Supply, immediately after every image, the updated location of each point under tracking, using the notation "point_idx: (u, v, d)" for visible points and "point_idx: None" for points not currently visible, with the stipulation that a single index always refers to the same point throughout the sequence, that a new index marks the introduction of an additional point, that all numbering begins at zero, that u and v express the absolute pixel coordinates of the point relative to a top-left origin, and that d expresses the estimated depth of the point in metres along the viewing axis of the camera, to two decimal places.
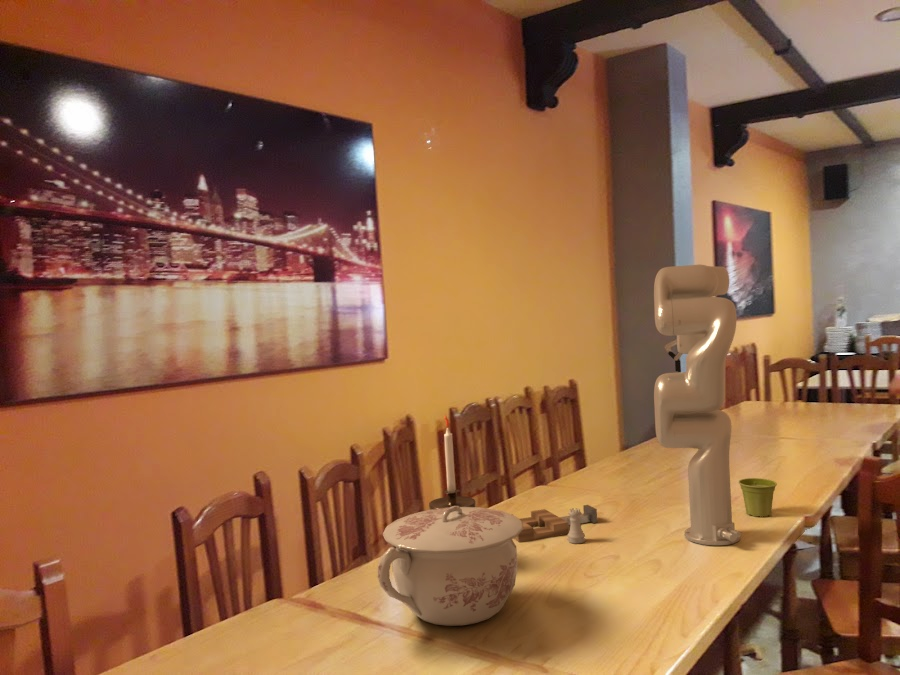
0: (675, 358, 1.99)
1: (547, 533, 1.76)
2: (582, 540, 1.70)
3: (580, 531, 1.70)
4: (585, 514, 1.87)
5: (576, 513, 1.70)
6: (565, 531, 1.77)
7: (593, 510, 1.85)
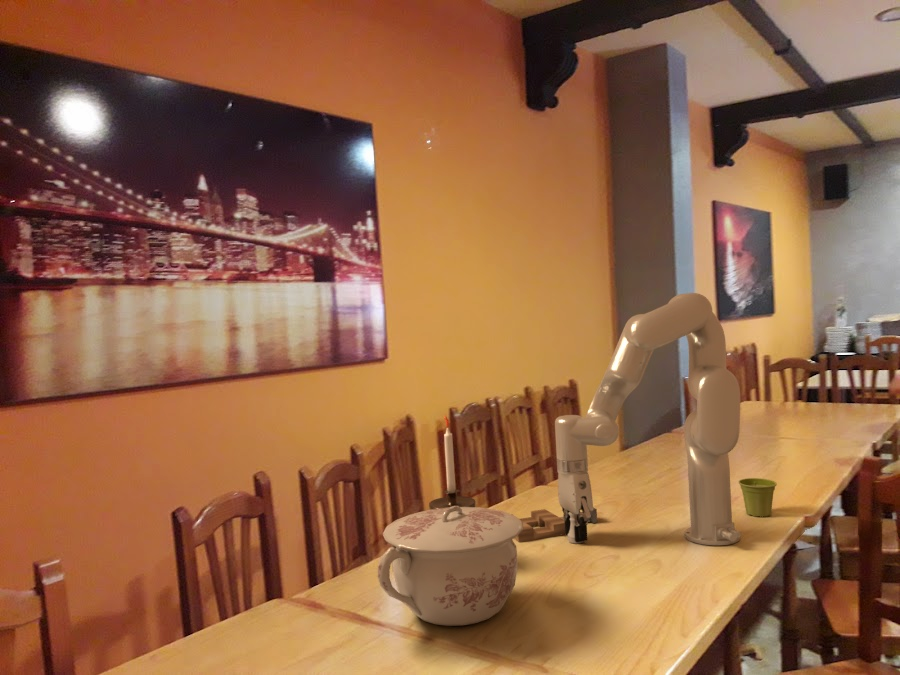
0: None
1: (547, 533, 1.76)
2: None
3: None
4: None
5: None
6: None
7: (593, 510, 1.85)
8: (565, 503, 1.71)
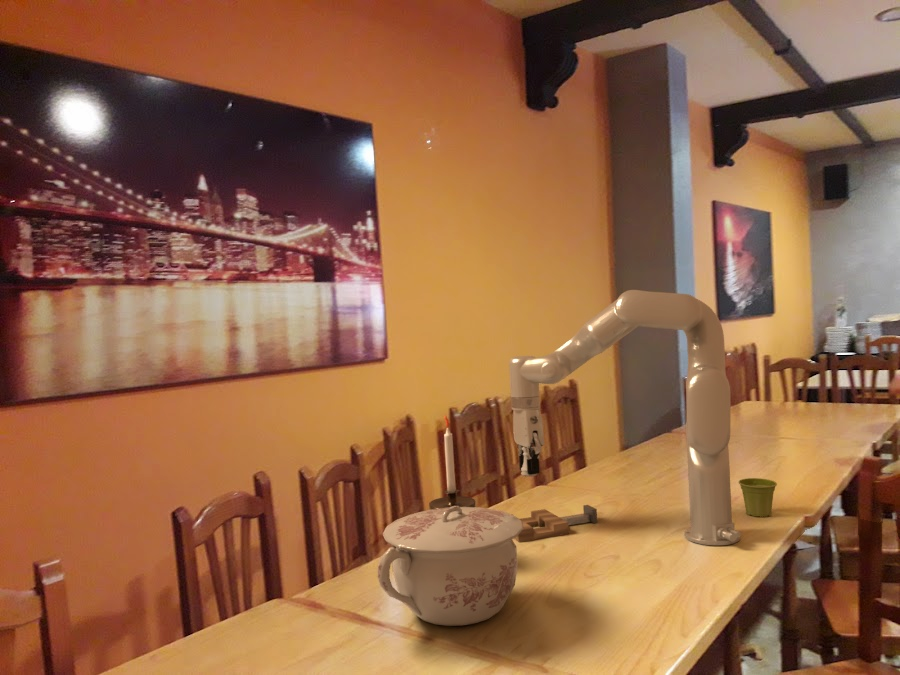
0: None
1: (547, 533, 1.76)
2: None
3: None
4: (585, 514, 1.87)
5: None
6: (565, 531, 1.77)
7: (593, 510, 1.85)
8: (519, 438, 1.81)
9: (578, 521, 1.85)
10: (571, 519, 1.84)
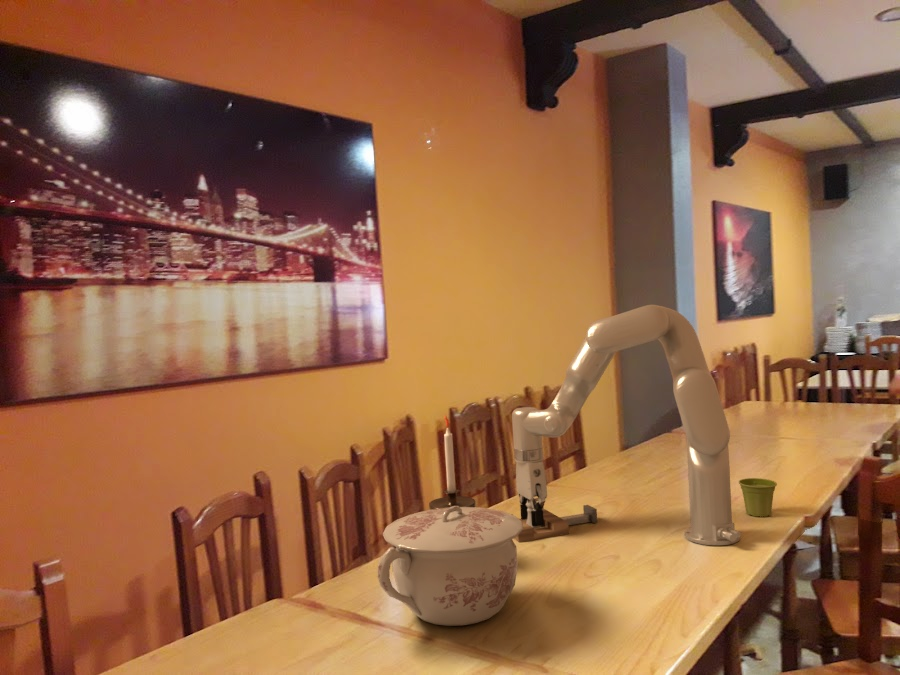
0: None
1: (547, 533, 1.76)
2: None
3: None
4: (585, 514, 1.87)
5: None
6: (565, 531, 1.77)
7: (593, 510, 1.85)
8: (522, 490, 1.82)
9: (578, 521, 1.85)
10: (571, 519, 1.84)
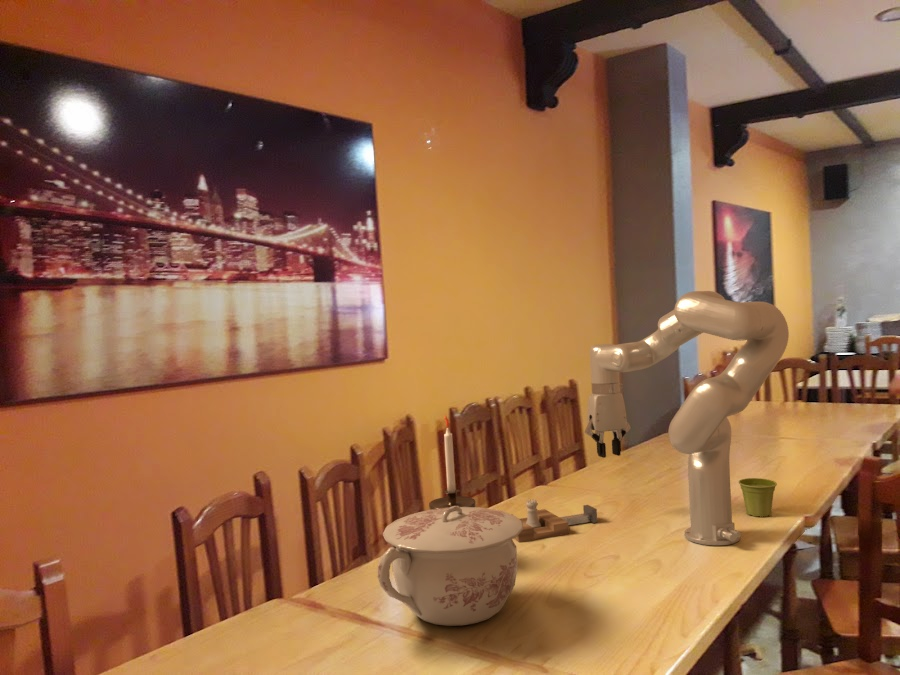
0: None
1: (547, 533, 1.76)
2: None
3: (536, 521, 1.81)
4: (585, 514, 1.87)
5: (532, 504, 1.81)
6: (565, 531, 1.77)
7: (593, 510, 1.85)
8: (610, 424, 1.87)
9: (578, 521, 1.85)
10: (571, 519, 1.84)
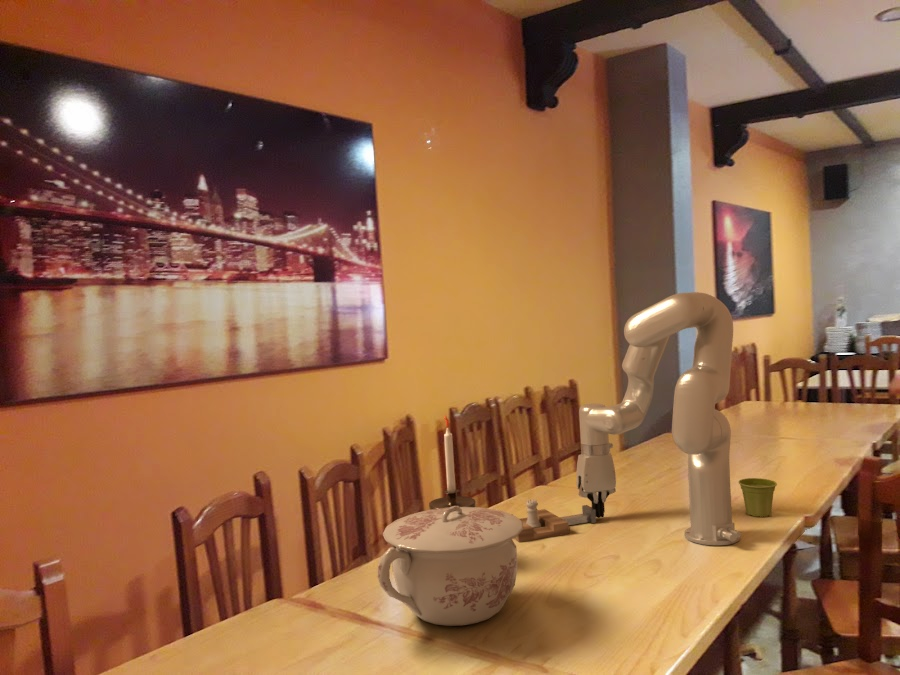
0: None
1: (547, 533, 1.76)
2: None
3: (536, 521, 1.81)
4: (584, 514, 1.87)
5: (533, 504, 1.81)
6: (565, 531, 1.77)
7: (592, 510, 1.85)
8: (599, 485, 1.86)
9: (577, 521, 1.85)
10: (570, 519, 1.84)
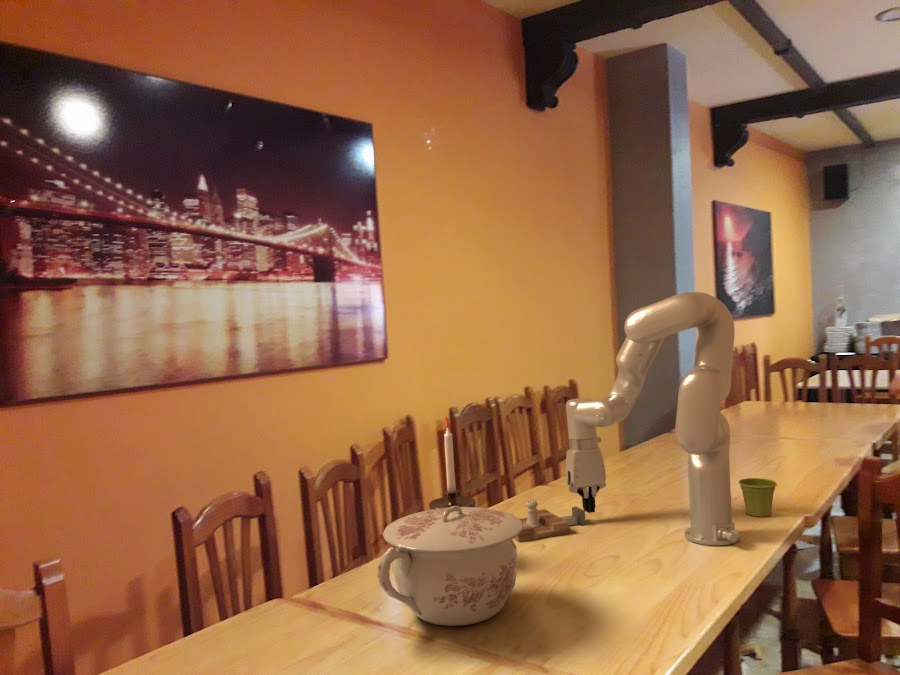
0: None
1: (547, 533, 1.76)
2: None
3: (536, 521, 1.81)
4: (573, 516, 1.86)
5: (532, 504, 1.81)
6: (565, 531, 1.77)
7: (581, 512, 1.84)
8: (589, 480, 1.84)
9: None
10: None
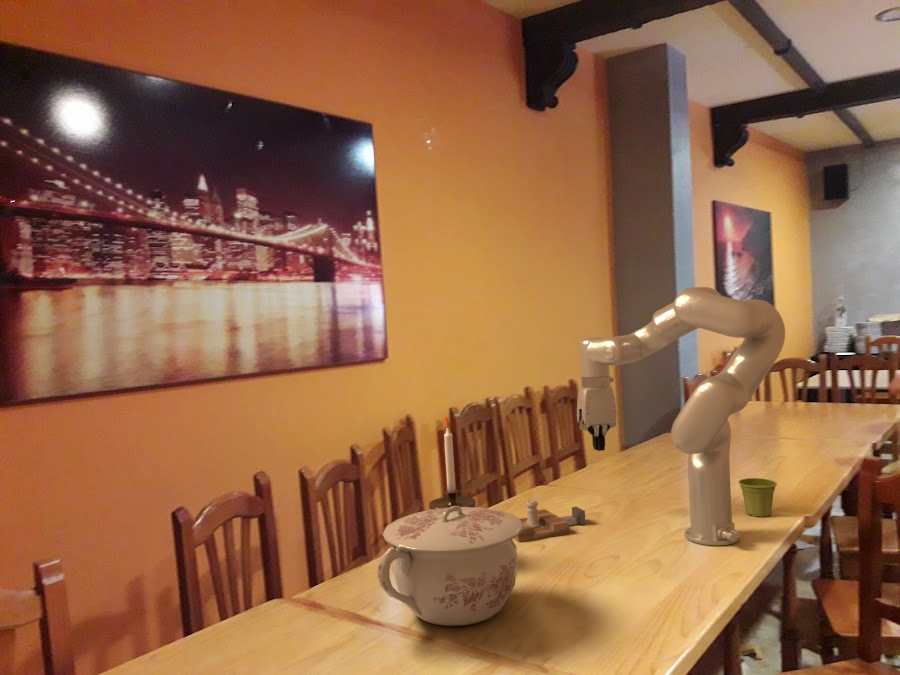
0: None
1: (547, 533, 1.76)
2: None
3: (536, 521, 1.81)
4: (573, 516, 1.86)
5: (532, 504, 1.81)
6: (565, 531, 1.77)
7: (581, 512, 1.84)
8: (600, 418, 1.86)
9: None
10: None
